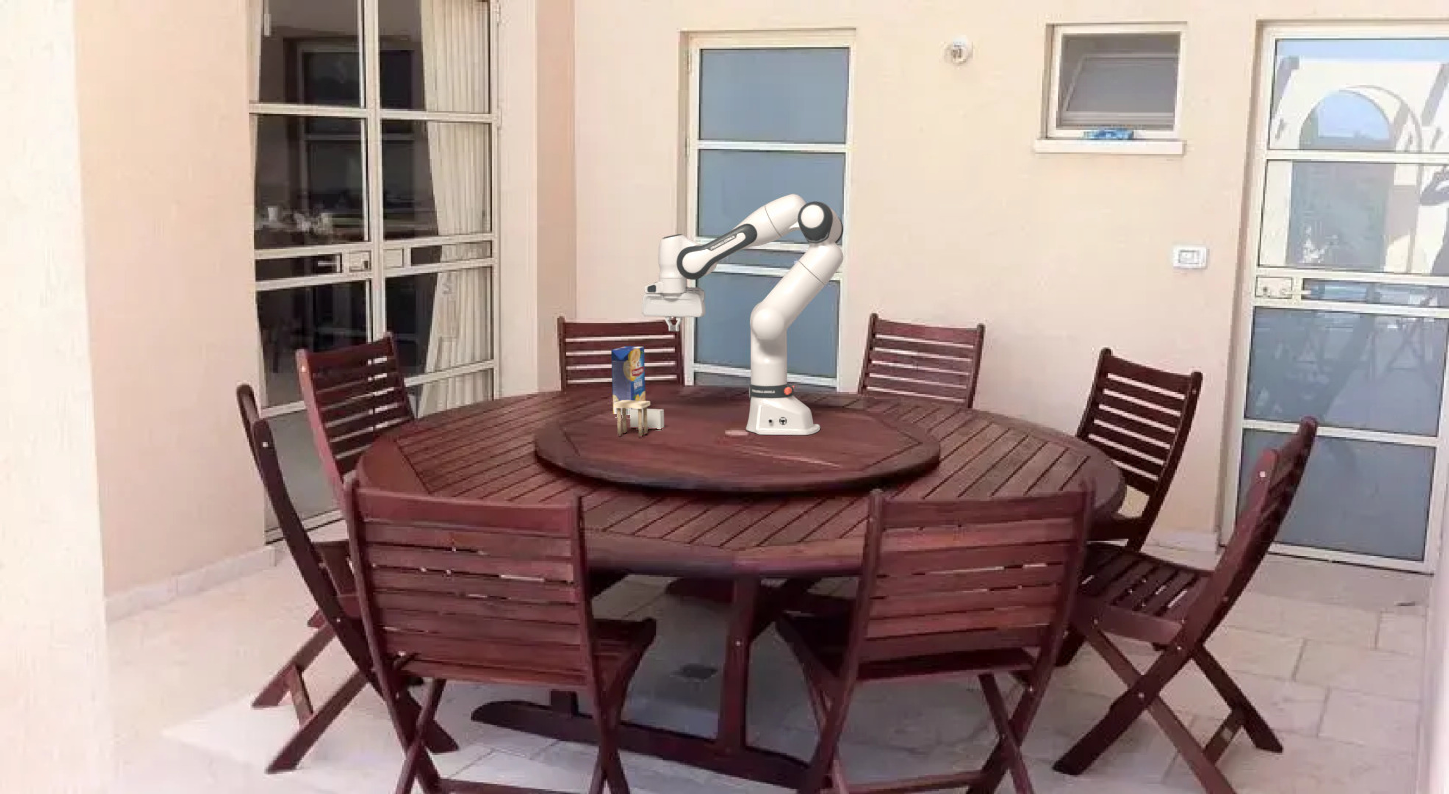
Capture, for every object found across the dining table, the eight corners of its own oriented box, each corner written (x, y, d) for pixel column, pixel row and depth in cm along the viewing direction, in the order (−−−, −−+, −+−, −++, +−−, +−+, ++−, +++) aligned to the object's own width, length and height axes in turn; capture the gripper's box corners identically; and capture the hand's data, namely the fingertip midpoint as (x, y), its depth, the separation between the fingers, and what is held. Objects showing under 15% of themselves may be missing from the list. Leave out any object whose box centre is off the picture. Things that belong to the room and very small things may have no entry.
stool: (650, 434, 408) (650, 401, 406) (642, 438, 402) (641, 404, 400) (623, 432, 411) (622, 400, 409) (614, 437, 404) (613, 403, 403)
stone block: (664, 428, 417) (663, 409, 416) (660, 430, 414) (660, 411, 413) (634, 427, 420) (633, 408, 419) (630, 428, 417) (629, 409, 416)
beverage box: (645, 412, 447) (644, 346, 443) (632, 418, 436) (630, 350, 433) (626, 411, 449) (625, 346, 445) (613, 417, 439) (611, 350, 435)
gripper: (708, 286, 420) (708, 330, 422) (646, 285, 426) (647, 329, 428) (701, 288, 414) (701, 332, 416) (639, 287, 420) (640, 331, 423)
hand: (674, 331), depth 422 cm, fingers closed
